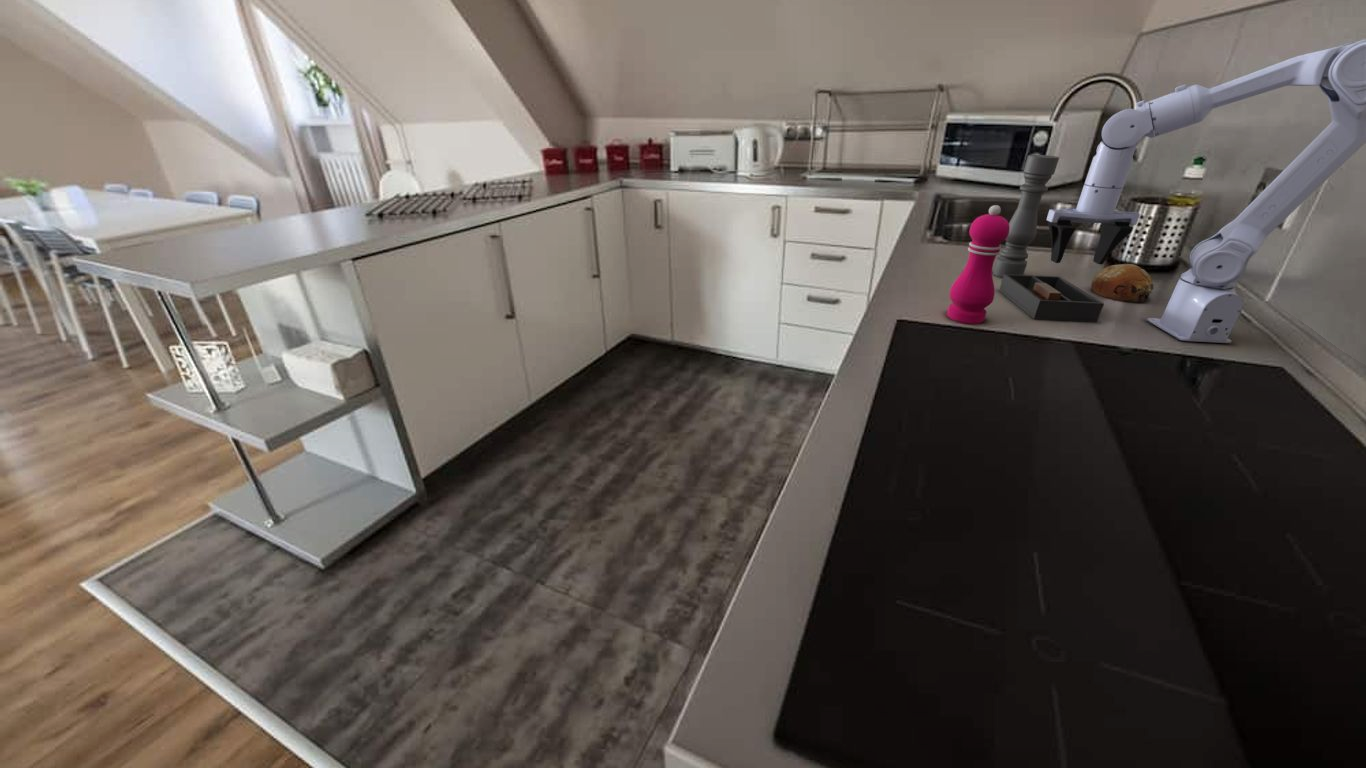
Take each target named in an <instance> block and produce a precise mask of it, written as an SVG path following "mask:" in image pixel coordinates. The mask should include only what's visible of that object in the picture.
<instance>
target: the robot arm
mask: <svg viewBox="0 0 1366 768" xmlns="http://www.w3.org/2000/svg"><path fill="white" fill-rule="evenodd" d="M1288 86H1289V87H1290V86H1291V87H1319V89H1320V90H1321V92H1323V94H1324V95H1325V96H1326V98H1327V100H1328V104H1329V110H1330V115H1331V122H1330V123H1329V124H1327V126H1326V127H1325V128H1324V129H1323V130H1322V131H1321V132H1320V133H1319V134H1318V135H1317V136H1316V137H1315V138H1314V139H1313V140H1312V141H1311V142H1310V143H1309V144H1308V145H1307V146H1306V147H1305V148H1304V149H1303V150H1302V151H1301V152H1300V153H1299V154H1298V155H1297V156H1296V157H1295V158H1294V159H1293V160H1292V161H1291V163H1289V164H1288V165H1287V166H1286V167H1285V168H1284V169H1283V170H1282V172H1280V173H1279V174H1278V175H1277V177H1275V178H1274V180H1273V181H1271V182H1270V183H1269V184H1268V186H1266V187H1265V188H1264V189H1263V190H1262V192H1260V193H1259V194H1258V195H1257V196H1256V197H1255V198H1254V199H1253V201H1251V203H1249V204H1248V206H1247V207H1245V209H1243V210H1242V211H1241V212H1240V213H1239V215H1238V216H1236V218H1235V219H1233V220H1232V221H1230V222H1229V223H1227V224H1226V225H1224V226H1223V227H1222V228H1221V229H1219V231H1218V232H1216V233H1215V234H1214V235H1212V236H1211V237H1209V238H1206V239H1204V240H1202V241H1200V242H1199V243H1197V244H1196V245H1195V246H1194V247H1193V248H1192V250H1191V252H1190V254H1189V263H1190V265H1191V267H1190V268H1189V269H1188V270H1187V271H1185V272H1182V273H1181V274H1180V277H1179V279H1178V281H1177V283H1176V285H1175V288H1174V290H1173V292H1172V294H1171V296H1170V299H1169V301H1168V303H1167V305H1166V307H1165V309H1164V310H1163V311H1164V312H1163V314H1162V316H1161V318H1158V317H1157V318H1155V317H1148V318H1147V320H1146V321H1147V322H1148V323H1150V324H1152V325H1154V326H1156V327H1157V328H1158V329H1161V330H1162V331H1164V332H1166V333H1167V334H1168V335H1171V336H1173V337H1174V338H1175V339H1177V340H1180V341H1182V342H1196V343H1197V342H1199V343H1216V344H1217V343H1218V344H1231V343H1232V340H1231V339H1230V338H1229V336H1230V335H1231V332H1232V331H1233V329H1234V327H1235V324H1236V323H1237V321H1238V319H1239V317H1240V315H1241V313H1242V312H1243V310H1244V300H1243V298H1242V297H1241V296H1240V295H1239V294H1237V292H1236V286H1237V280H1239V279H1240V278H1241V277H1242V276H1243V275H1244V273H1245V272H1246V270H1247V267H1248V264H1249V262H1250V260H1251V258H1252V257H1254V255H1256V254H1257V253H1258V251H1259V250H1260V249H1261V247H1262V246H1263V244H1264V242H1265V241H1266V238H1267V237H1268V236H1269V235H1270V234H1271V233H1272V232H1273V231H1274V230H1276V229H1277V228H1278V227H1279V226H1280V225H1281V224H1282V223H1283V222H1284V221H1285V220H1286V219H1287V218H1288V217H1289V216H1290V215H1291V214H1292V213H1293V212H1294V211H1295V210H1296V209H1298V208H1299V207H1300V206H1301V205H1302V204H1303V203H1304V202H1305V201H1307V199H1308V198H1309V197H1310V196H1311V195H1312V194H1313V193H1315V192H1316V191H1317V190H1318V189H1319V188H1320V187H1321V186H1322V185H1323V184H1324V183H1325V182H1326V181H1327V180H1328V179H1329V178H1330V177H1332V176H1333V174H1334V173H1336V171H1338V170H1339V169H1340V168H1341V167H1342V166H1343V165H1344V164H1346V162H1347V161H1348V160H1350V159H1351V158H1352V157H1353V155H1354V154H1356V153H1357V152H1358V151H1359V150H1360V149H1361V148H1362V147H1363V146H1364V145H1365V144H1366V38H1365V39H1364V38H1363V39H1361V40H1359V41H1358V40H1357V41H1351V42H1347V43H1345V44H1341V45H1339V46H1335V47H1331V48H1326V49H1323V50H1317V51H1314V52H1309V53H1306V54H1305V53H1304V54H1301V55H1297V56H1294V57H1291V58H1288V59H1286V60H1283V61H1280V62H1278V63H1275V64H1271V65H1269V66H1267V67H1264V68H1262V69H1259V70H1256V71H1254V72H1251V73H1248V74H1245V75H1243V76H1240V77H1237V78H1235V79H1232V80H1229V81H1227V82H1224V83H1222V84H1219V85H1216V86H1213V87H1210V88H1208V87H1205V86H1202V85H1200V84H1193V85H1190V86H1187V84H1182V85H1180V86H1177V87H1175V88H1174V92H1171V93H1168V94H1164V95H1162V96H1160V97H1157V98H1155V99H1152V100H1149V101H1145V100H1140V101H1137V102H1136V108H1124V109H1122V110H1120V111H1118V112H1116V113H1114V114H1113V115H1112V116H1111V117H1109V118H1108V119H1107V121H1105V123H1104V125H1103V126H1102V129H1101V139H1102V140H1100V142H1099V144H1098V145H1097V148H1096V150H1095V151H1096V154H1095V155H1094V156H1093V157H1092V160H1091V163H1090V166H1089V169H1088V172H1087V174H1086V178H1085V181H1084V183H1083V187H1082V190H1081V193H1080V195H1079V199H1078V202H1077V204H1076V208H1063V209H1061V208H1060V209H1049V210H1048V213H1047V217H1046V221H1047V227H1048V230H1049V234H1050V241H1051V253H1050V261H1052V262H1054V263H1055V264H1060V263H1061V262H1062V259H1063V258H1064V255H1065V251H1066V248H1067V246H1068V244H1069V241H1070V240H1071V238H1072V236H1073V234H1074V233H1075V232H1076V230H1077V228H1076V227H1075V226H1073V224H1072V223H1083V224H1086V223H1087V224H1101V229H1100V236H1099V241H1098V244H1097V247H1096V250H1095V253H1094V255H1093V260H1092V262H1094V263H1095V264H1097V265H1101V266H1102V265H1103V264H1105V262H1106V261H1107V259H1108V258H1109V256H1110V255H1111V253H1112V252H1113V251H1114V250H1115V249H1116V247H1117V246H1118V245H1119V244H1120V243H1121V242H1122V241H1123V240H1124V239H1125V238H1126V237H1128V236H1129V235H1130V234H1132V232H1133V229H1134V227H1133V226H1137V224H1138V221H1139V218H1140V216H1141V214H1140V213H1138V212H1135V211H1124V210H1123V211H1122V210H1116V208H1117V206H1118V203H1119V201H1120V198H1121V195H1122V192H1123V190H1124V186H1125V184H1126V182H1127V179H1128V176H1129V173H1130V171H1131V168H1132V166H1133V163H1134V158H1133V156H1134V154H1135V151H1136V149H1137V146H1138V143H1139V142H1140V141H1141V140H1142V139H1143V138H1144V137H1147V138H1150V139H1153V138H1155V137H1159V136H1162V135H1165V134H1168V133H1171V132H1175V131H1178V130H1180V129H1183V128H1186V127H1189V126H1193V125H1196V124H1198V123H1202V122H1203V121H1204V120H1205V119H1206V117H1207V116H1208V115H1209V114H1210V112H1211V111H1212V110H1214V109H1217V108H1219V107H1223V106H1226V105H1229V104H1233V103H1235V102H1239V101H1242V100H1245V99H1249V98H1252V97H1256V96H1259V95H1261V94H1265V93H1267V92H1271V91H1274V90H1277V89H1280V88H1283V87H1288Z"/></svg>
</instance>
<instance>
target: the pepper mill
mask: <svg viewBox="0 0 1366 768" xmlns="http://www.w3.org/2000/svg"><path fill="white" fill-rule="evenodd" d="M1001 212H1002V209H1001V207H1000V205H998V204H994V205H991V206H990V207H989V208H988V214H987V213H986V214H982V215H980V216H978V217H976V218H975V219H974V220H973V222H972V223H971V225H970V227H969V232H968V233H969V237H970V238H971V241H970V242H969V243H968V245H969V246H968V247H967V251H968V252H969V254H968V259H967V262H966V264H965V266H964V268H963V270H962V272H961V273H959V275H958V277H957V278H956V279H955V280H954V281H953V283H952V285H951V288H950V290H949V299H950V300H951V302H952V303H951V304H949V306H948V309H947V312H946V316H947V317H948V318H949V319H951V320H953V321H955V322H958V323H961V324H969V325H975V324H977V325H978V324H982V323H983V322H984V321H985V318H986V315H987V310H986V308H987V307H988V306H990V305H991V304H992V303H993V301H994V299H995V294H996V293H995V292H996V291H995V283H994V278H993V268H994V264H995V261H996V258H997V256H998V255H999V254H1000V251H1001V250H1002V245H1001V244H1002V243H1003V242H1004V241H1006V240H1005V239H1006V238H1007V237H1008V234H1009V230H1010V226H1009V221H1008V220H1007V219H1006V218H1005V217H1003V216H1001V215H1000V214H1001Z"/></svg>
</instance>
